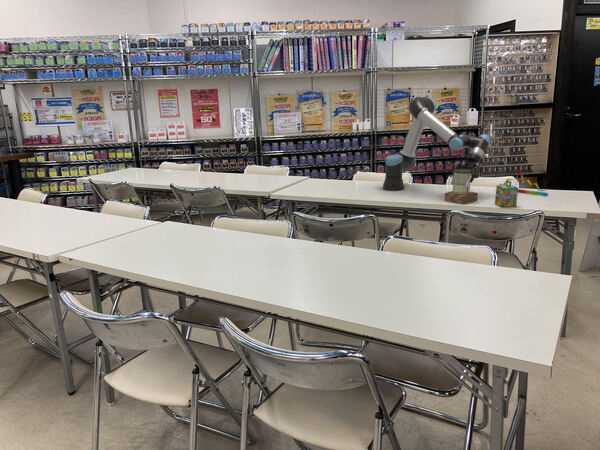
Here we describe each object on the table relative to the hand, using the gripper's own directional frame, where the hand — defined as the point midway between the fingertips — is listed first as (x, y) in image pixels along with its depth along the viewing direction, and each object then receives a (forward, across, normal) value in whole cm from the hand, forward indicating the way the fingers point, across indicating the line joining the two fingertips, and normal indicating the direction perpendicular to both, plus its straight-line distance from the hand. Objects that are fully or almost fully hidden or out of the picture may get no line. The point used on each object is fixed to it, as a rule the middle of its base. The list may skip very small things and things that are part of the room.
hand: (459, 184), depth 288 cm
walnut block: (+5, 0, -10) cm, 11 cm away
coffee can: (+2, 0, -6) cm, 6 cm away
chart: (-27, -16, -43) cm, 53 cm away
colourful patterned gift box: (0, -25, -16) cm, 30 cm away
